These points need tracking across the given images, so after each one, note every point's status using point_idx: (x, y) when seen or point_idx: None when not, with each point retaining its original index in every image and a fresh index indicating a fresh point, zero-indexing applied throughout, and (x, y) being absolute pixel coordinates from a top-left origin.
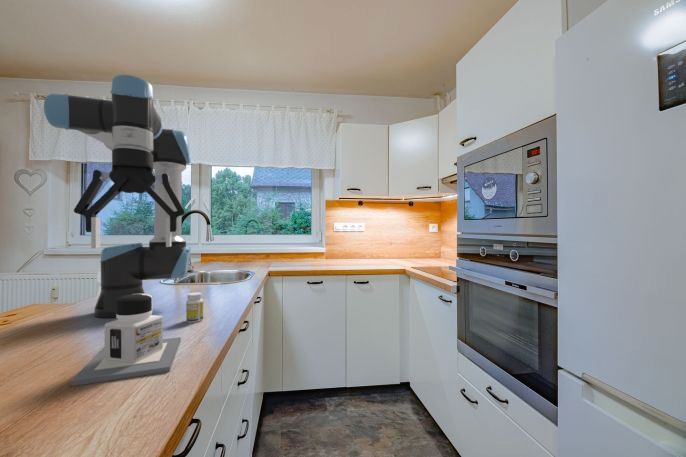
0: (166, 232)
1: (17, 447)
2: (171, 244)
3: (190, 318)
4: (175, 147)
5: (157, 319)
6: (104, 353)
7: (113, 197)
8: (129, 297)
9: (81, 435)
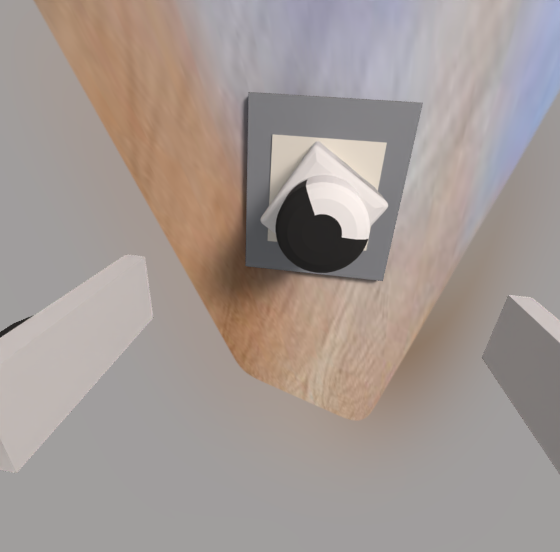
0: (536, 431)
1: (249, 371)
2: (538, 303)
3: None
4: None
5: (374, 221)
6: (261, 153)
7: None
8: (310, 257)
9: (296, 378)
